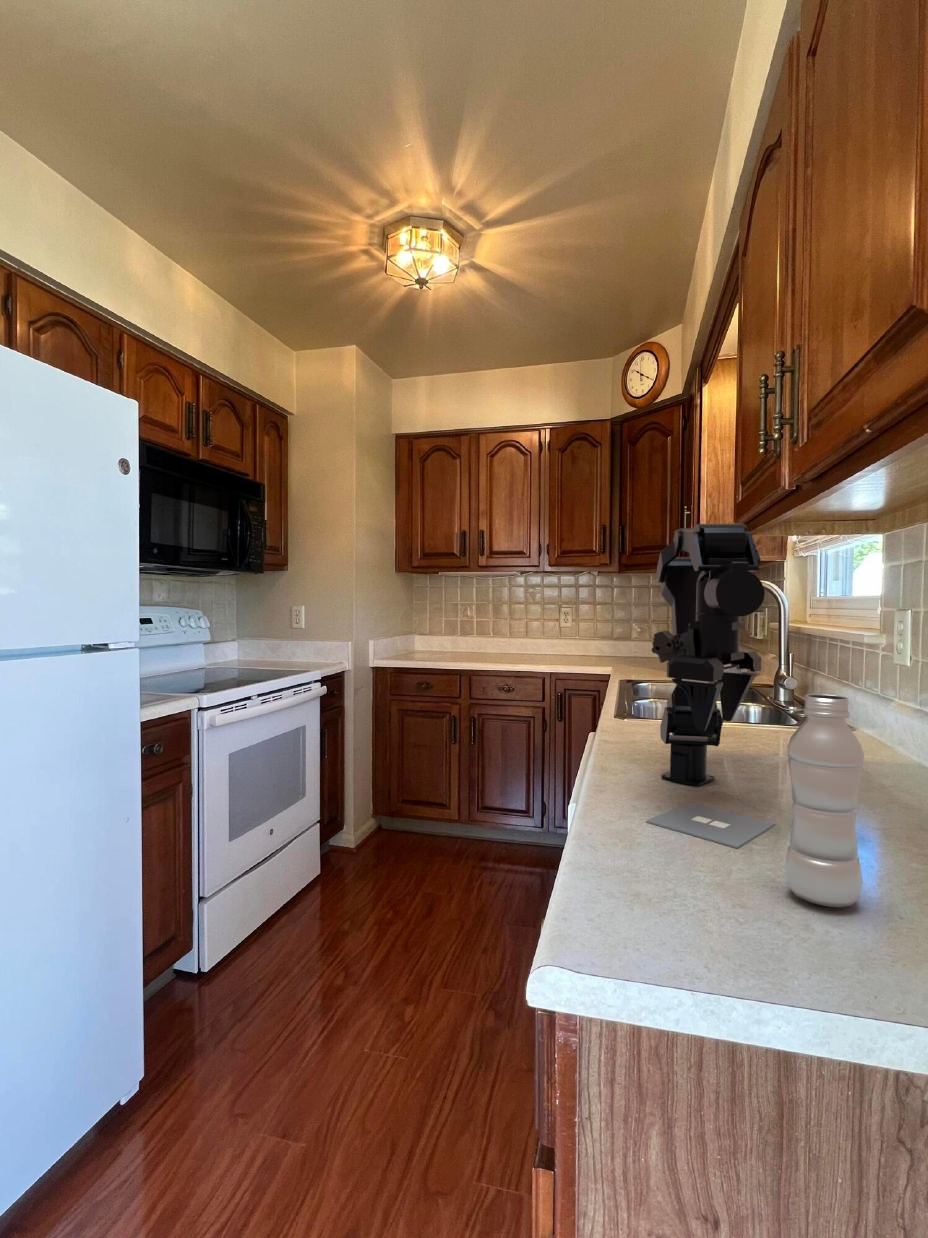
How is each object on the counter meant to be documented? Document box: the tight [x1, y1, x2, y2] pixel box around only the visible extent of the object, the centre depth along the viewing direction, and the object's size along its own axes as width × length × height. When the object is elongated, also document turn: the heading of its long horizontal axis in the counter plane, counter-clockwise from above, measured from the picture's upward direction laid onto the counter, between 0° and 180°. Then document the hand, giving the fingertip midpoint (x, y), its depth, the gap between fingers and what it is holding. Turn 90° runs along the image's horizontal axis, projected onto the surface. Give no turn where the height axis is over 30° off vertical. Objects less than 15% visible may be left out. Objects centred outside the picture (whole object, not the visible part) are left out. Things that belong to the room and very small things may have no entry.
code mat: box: [645, 801, 776, 850], centre depth 82 cm, size 12×12×1 cm
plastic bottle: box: [784, 693, 865, 908], centre depth 60 cm, size 6×7×20 cm
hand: (714, 725), depth 86 cm, fingers open, 9 cm apart
